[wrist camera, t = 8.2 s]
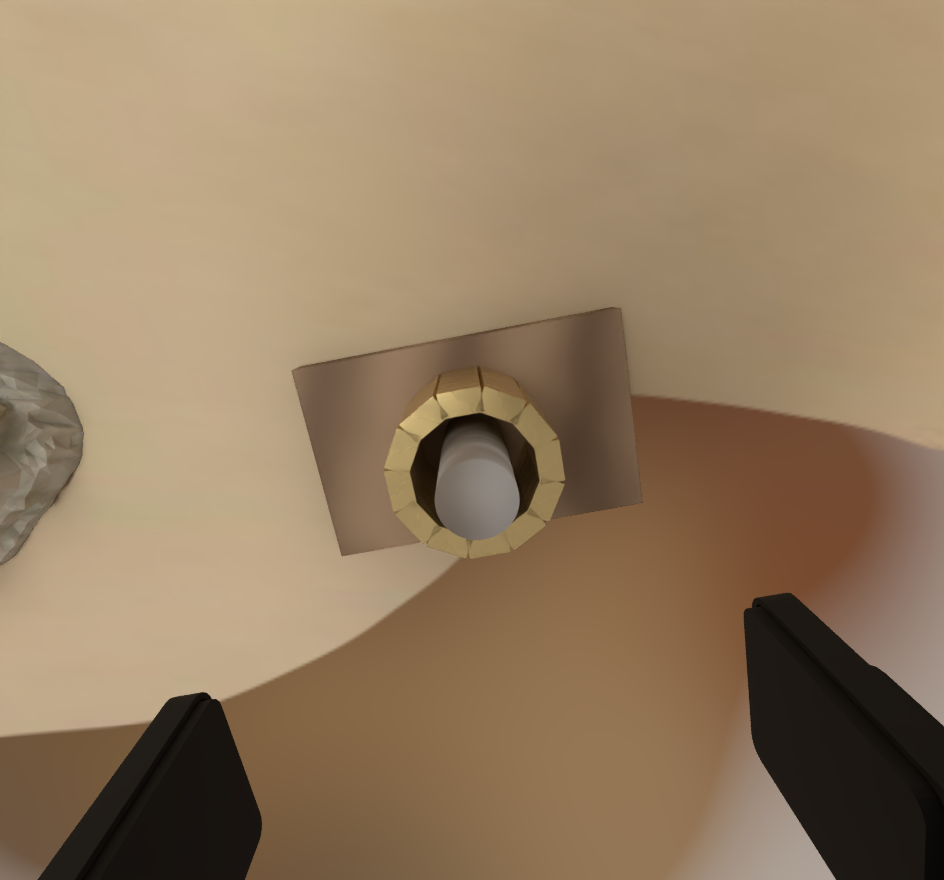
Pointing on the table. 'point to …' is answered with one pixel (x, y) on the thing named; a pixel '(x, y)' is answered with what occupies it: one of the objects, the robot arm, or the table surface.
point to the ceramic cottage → (32, 446)
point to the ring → (418, 478)
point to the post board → (474, 427)
